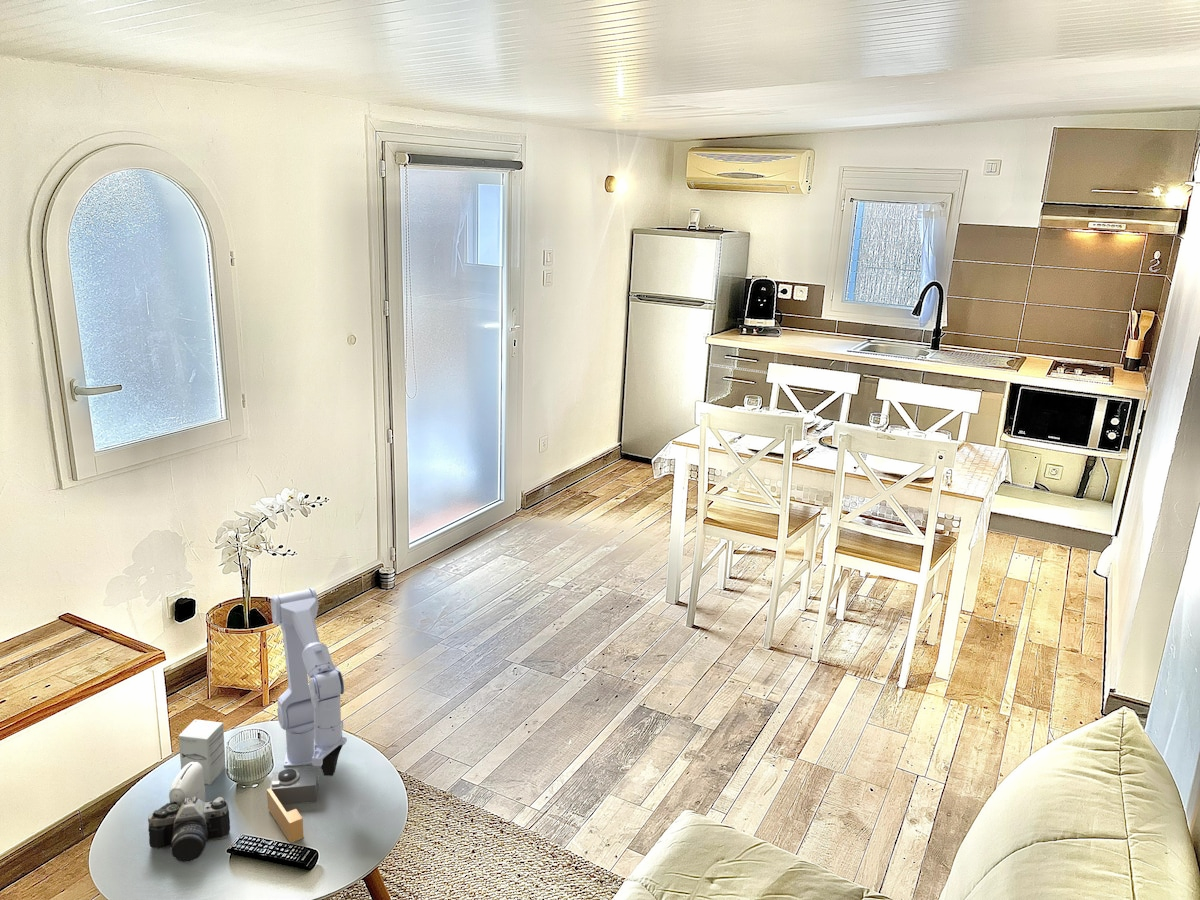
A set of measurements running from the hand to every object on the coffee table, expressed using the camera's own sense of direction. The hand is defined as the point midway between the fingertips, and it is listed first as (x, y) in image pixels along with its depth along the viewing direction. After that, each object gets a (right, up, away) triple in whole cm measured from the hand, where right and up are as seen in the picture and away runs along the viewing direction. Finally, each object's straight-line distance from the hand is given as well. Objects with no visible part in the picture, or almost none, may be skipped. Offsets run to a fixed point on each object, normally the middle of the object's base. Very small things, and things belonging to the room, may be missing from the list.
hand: (329, 774), depth 199 cm
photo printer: (-30, -9, -4) cm, 31 cm away
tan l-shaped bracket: (-9, -9, -4) cm, 13 cm away
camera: (-26, -12, -12) cm, 31 cm away
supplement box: (-33, -5, +11) cm, 36 cm away
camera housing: (-10, -7, +6) cm, 13 cm away
